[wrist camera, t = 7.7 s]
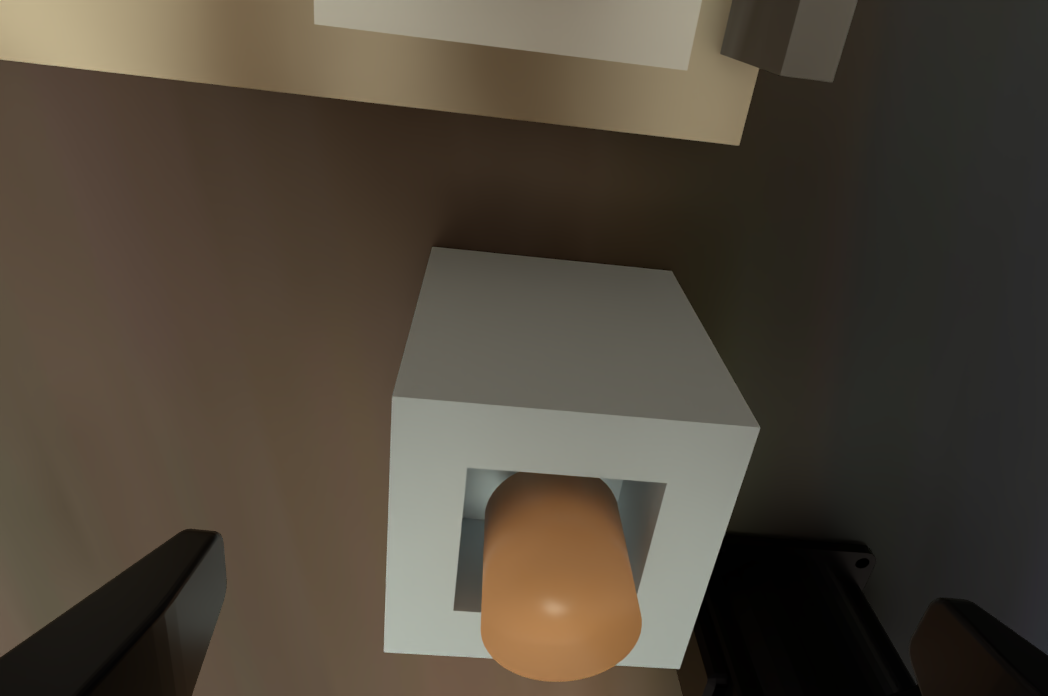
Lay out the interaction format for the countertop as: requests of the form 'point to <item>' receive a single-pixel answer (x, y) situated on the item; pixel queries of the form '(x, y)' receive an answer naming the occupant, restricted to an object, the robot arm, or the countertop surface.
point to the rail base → (439, 60)
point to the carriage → (535, 25)
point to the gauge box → (557, 435)
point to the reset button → (556, 578)
